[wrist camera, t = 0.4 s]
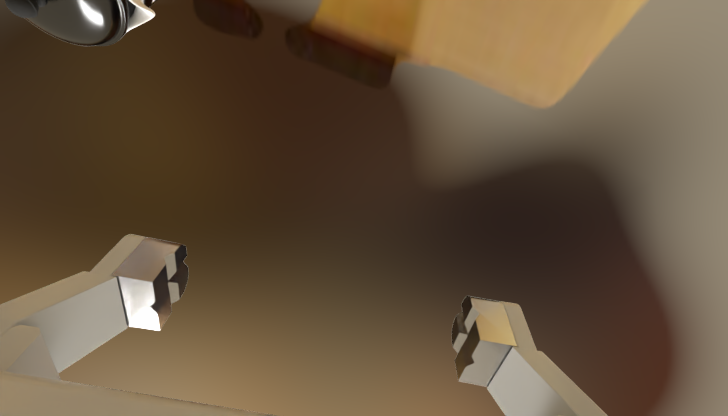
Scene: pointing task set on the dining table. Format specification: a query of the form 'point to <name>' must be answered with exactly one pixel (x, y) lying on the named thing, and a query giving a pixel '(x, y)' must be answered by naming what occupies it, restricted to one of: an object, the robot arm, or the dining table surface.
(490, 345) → the robot arm
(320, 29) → the dining table surface
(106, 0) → the coffee press
